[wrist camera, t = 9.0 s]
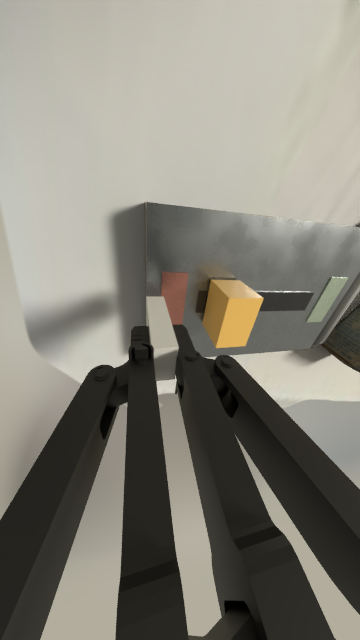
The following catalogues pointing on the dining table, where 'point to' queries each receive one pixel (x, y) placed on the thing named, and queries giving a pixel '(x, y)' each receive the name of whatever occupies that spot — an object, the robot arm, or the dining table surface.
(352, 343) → the beverage carton
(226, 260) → the breaker panel
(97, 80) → the dining table surface
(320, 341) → the grey rounded bar
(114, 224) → the dining table surface
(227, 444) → the robot arm
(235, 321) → the toggle
